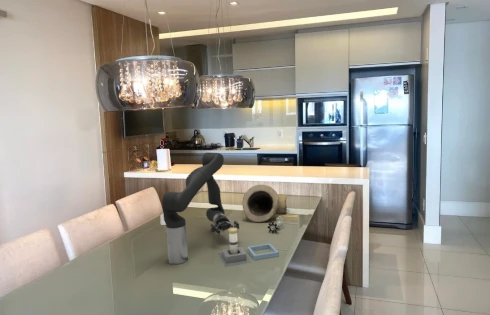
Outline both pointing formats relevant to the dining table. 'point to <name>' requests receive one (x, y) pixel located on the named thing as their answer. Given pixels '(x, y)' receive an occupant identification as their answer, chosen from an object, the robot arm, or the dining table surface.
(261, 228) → the dining table surface
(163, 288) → the dining table surface
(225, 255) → the block
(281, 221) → the valve
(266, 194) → the pipe
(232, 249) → the capped white cylinder
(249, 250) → the parts tray
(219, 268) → the dining table surface
